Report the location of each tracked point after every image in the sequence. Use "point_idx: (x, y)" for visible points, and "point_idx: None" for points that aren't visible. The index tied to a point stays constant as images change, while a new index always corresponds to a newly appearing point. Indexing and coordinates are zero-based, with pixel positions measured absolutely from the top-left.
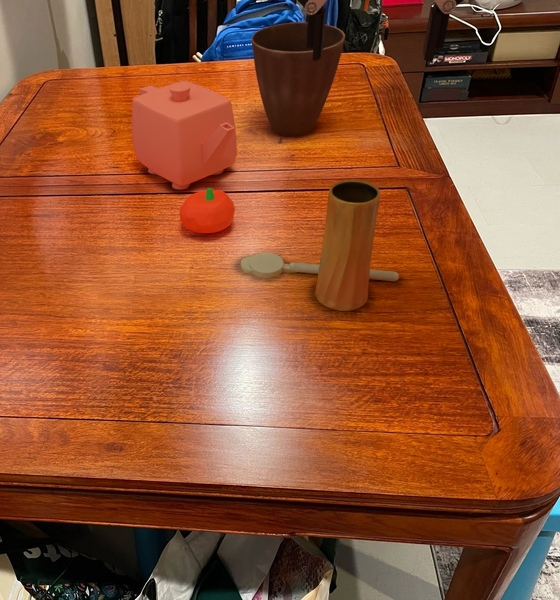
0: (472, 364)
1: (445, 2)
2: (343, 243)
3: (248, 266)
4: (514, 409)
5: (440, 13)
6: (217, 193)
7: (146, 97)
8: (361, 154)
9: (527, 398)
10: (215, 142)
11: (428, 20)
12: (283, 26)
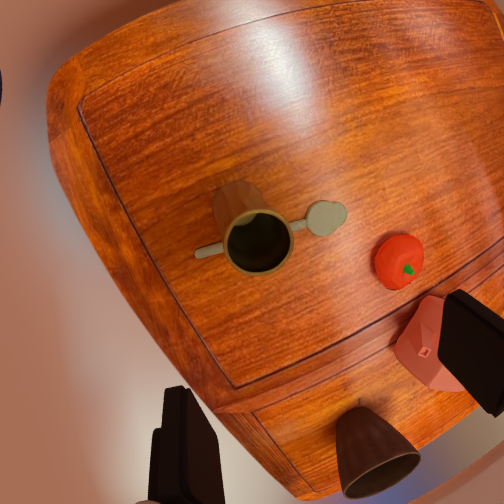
0: (105, 168)
1: None
2: (248, 196)
3: (337, 207)
4: (70, 135)
5: (168, 501)
6: (401, 279)
7: None
8: (287, 414)
9: (64, 152)
10: (425, 336)
11: (222, 494)
12: (394, 482)
